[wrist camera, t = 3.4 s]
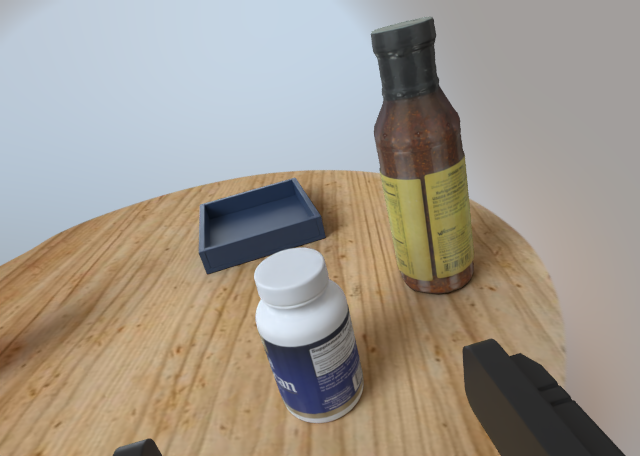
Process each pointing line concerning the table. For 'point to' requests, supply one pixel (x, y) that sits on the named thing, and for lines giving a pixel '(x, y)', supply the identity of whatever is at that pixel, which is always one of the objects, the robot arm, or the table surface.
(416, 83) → the sauce bottle
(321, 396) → the pill bottle
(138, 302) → the table surface
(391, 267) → the table surface
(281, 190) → the blue tray
